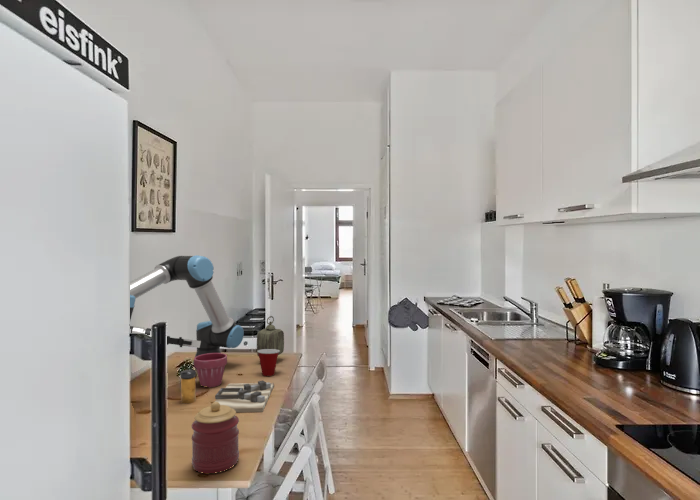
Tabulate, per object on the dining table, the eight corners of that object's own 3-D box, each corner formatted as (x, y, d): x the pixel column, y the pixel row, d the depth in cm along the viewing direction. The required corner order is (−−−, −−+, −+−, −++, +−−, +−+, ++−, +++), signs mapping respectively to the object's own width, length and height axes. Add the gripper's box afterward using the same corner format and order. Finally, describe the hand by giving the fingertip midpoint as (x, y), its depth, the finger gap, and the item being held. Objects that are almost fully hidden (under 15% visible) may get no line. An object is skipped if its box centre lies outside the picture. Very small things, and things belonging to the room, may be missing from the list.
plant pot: (191, 390, 185) (191, 361, 185) (196, 381, 199) (196, 353, 199) (226, 388, 188) (225, 359, 188) (228, 378, 202) (228, 351, 202)
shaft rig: (227, 387, 190) (227, 376, 190) (273, 386, 190) (273, 376, 190) (207, 413, 160) (207, 401, 160) (262, 411, 160) (262, 400, 160)
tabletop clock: (270, 358, 238) (270, 314, 238) (285, 359, 235) (284, 314, 235) (256, 365, 225) (256, 318, 225) (271, 366, 222) (271, 318, 222)
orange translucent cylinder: (183, 398, 175) (183, 369, 175) (197, 398, 175) (197, 369, 175) (178, 404, 169) (178, 373, 169) (193, 403, 169) (193, 373, 169)
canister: (213, 480, 113) (212, 414, 113) (181, 467, 120) (181, 405, 120) (248, 459, 124) (248, 399, 124) (218, 448, 131) (217, 391, 131)
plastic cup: (284, 372, 211) (284, 348, 211) (271, 379, 201) (271, 353, 201) (266, 370, 215) (266, 346, 215) (252, 376, 206) (252, 351, 205)
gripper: (141, 346, 179) (194, 352, 187) (140, 347, 157) (199, 354, 165) (146, 328, 181) (197, 335, 189) (145, 327, 159) (203, 334, 167)
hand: (198, 344), depth 177 cm, fingers open, 13 cm apart
